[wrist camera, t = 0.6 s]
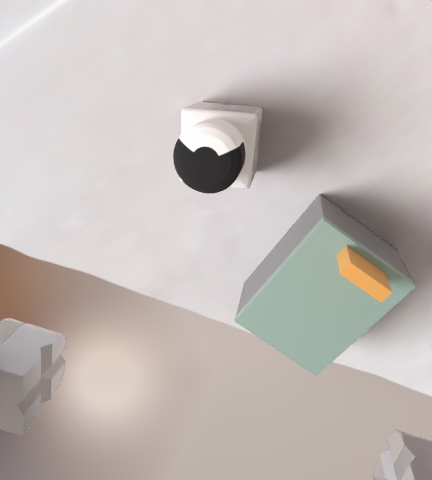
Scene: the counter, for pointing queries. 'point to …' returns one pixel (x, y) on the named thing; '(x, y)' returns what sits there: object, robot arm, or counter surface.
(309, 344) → the lid
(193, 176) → the container
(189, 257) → the counter surface
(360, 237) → the tub
